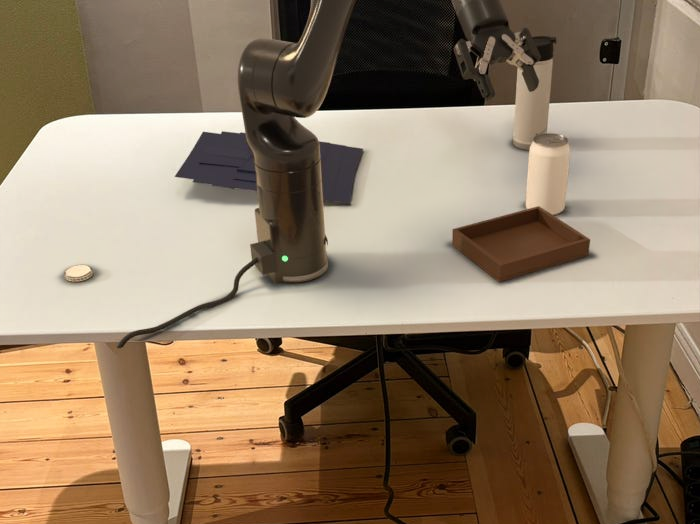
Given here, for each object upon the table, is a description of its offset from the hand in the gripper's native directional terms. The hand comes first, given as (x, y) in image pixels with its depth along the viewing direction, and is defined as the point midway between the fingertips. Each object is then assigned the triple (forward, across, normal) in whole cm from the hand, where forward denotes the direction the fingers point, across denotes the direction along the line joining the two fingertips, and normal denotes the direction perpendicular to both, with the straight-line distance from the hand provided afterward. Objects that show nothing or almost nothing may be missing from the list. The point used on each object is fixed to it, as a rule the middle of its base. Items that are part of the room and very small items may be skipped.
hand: (513, 93), depth 154 cm
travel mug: (+2, +14, +21) cm, 25 cm away
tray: (+26, -12, -3) cm, 29 cm away
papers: (-6, -34, +29) cm, 45 cm away
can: (+19, 0, +4) cm, 20 cm away
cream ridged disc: (+8, -73, +15) cm, 75 cm away
